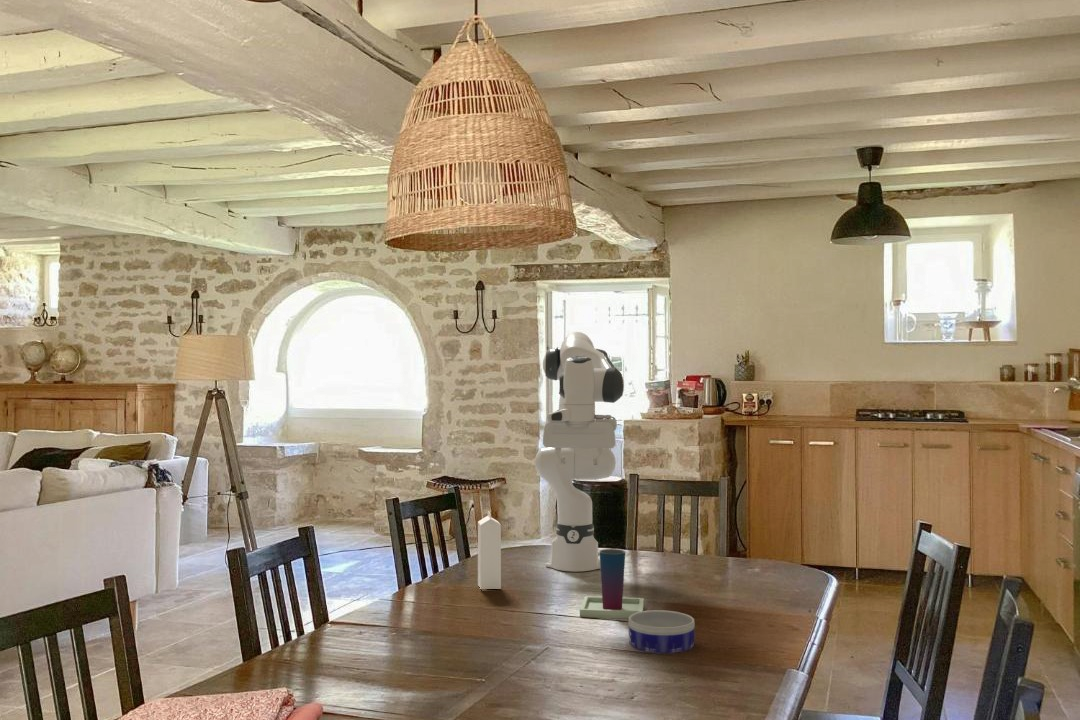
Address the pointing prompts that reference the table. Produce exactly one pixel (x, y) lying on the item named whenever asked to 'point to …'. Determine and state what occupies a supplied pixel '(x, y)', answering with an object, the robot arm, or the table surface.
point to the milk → (489, 553)
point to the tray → (594, 608)
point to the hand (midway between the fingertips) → (579, 464)
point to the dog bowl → (661, 631)
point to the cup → (612, 578)
